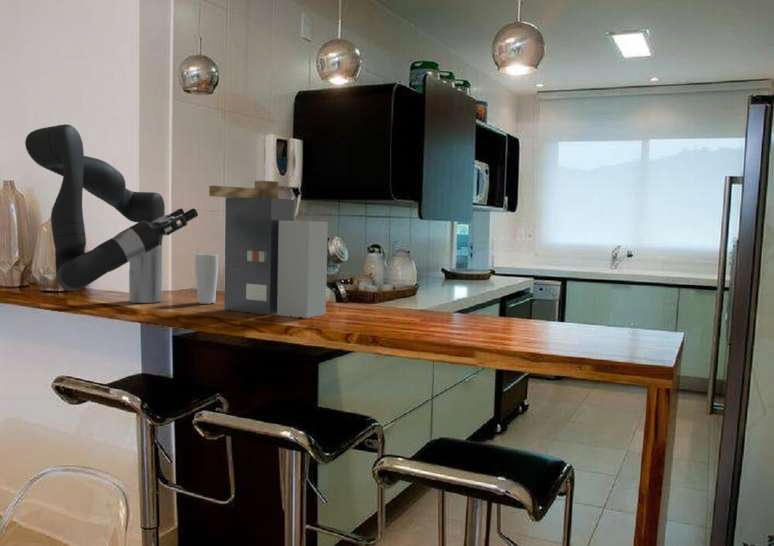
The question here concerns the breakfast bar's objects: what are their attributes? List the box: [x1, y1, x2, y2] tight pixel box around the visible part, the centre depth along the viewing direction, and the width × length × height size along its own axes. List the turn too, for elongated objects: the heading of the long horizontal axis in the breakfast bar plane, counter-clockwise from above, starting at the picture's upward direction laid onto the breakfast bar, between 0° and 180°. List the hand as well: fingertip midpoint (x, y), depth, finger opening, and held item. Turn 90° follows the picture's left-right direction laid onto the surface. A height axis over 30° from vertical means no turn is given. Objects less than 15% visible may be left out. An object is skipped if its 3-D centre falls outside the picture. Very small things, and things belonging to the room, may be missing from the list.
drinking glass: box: [194, 253, 219, 305], centre depth 198 cm, size 7×7×15 cm
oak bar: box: [208, 180, 280, 199], centre depth 181 cm, size 19×5×5 cm, turn 128°
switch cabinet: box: [223, 197, 295, 316], centre depth 184 cm, size 16×11×32 cm
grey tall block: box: [276, 220, 329, 319], centre depth 179 cm, size 10×9×26 cm
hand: (189, 211), depth 171 cm, fingers open, 8 cm apart
